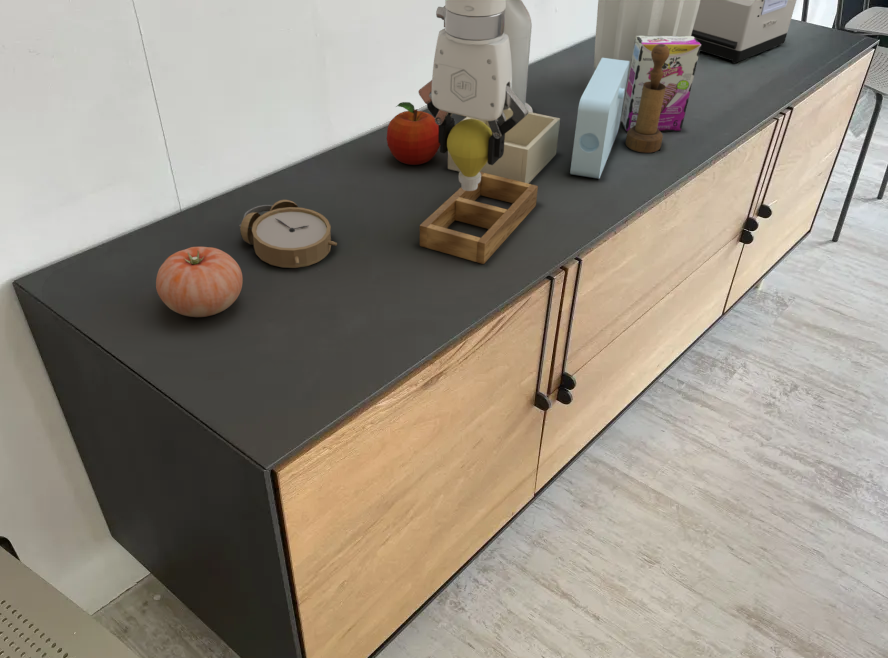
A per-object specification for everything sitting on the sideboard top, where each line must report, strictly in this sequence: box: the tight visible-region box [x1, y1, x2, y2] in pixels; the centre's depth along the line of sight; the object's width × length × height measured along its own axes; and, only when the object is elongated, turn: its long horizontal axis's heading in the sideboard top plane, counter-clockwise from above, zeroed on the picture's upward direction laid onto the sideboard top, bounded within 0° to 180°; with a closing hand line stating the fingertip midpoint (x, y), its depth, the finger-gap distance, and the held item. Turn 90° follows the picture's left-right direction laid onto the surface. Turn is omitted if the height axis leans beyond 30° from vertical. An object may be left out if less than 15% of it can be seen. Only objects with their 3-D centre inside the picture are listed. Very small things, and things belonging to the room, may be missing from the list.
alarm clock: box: [238, 199, 338, 269], centre depth 115 cm, size 11×5×15 cm
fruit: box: [386, 101, 440, 166], centre depth 135 cm, size 10×10×10 cm
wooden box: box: [447, 108, 561, 184], centre depth 136 cm, size 15×15×7 cm
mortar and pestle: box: [625, 44, 669, 154], centre depth 139 cm, size 7×6×18 cm
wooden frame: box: [419, 172, 539, 265], centre depth 120 cm, size 11×20×4 cm, turn 153°
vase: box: [593, 0, 700, 104], centre depth 154 cm, size 20×20×27 cm
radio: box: [569, 58, 630, 180], centre depth 138 cm, size 23×6×13 cm, turn 162°
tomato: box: [155, 246, 244, 318], centre depth 101 cm, size 11×11×8 cm
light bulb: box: [447, 118, 492, 191], centre depth 110 cm, size 7×7×10 cm
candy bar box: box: [620, 36, 701, 132], centre depth 146 cm, size 11×5×16 cm, turn 94°
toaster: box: [691, 0, 797, 64], centre depth 185 cm, size 23×25×17 cm
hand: (470, 154), depth 110 cm, fingers closed on light bulb, 6 cm apart
